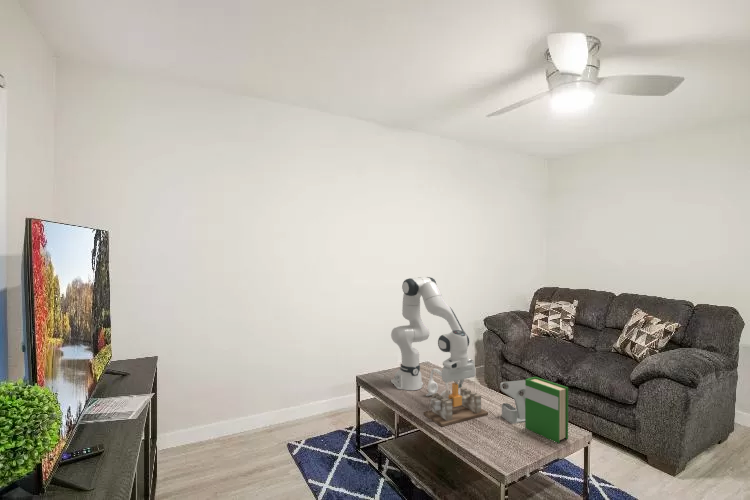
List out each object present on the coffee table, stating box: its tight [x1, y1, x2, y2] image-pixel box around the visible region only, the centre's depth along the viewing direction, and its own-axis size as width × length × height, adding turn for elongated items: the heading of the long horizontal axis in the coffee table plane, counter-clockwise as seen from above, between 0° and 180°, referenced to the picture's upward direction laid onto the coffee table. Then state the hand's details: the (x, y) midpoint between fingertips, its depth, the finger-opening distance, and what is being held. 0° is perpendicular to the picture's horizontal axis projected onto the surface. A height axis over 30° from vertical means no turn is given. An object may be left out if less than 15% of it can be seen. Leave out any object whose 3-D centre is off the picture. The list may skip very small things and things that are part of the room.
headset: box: [425, 368, 451, 399], centre depth 224 cm, size 20×7×18 cm, turn 20°
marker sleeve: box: [449, 382, 462, 407], centre depth 206 cm, size 5×5×11 cm
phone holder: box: [499, 379, 525, 424], centre depth 203 cm, size 17×10×18 cm, turn 104°
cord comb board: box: [423, 387, 489, 428], centre depth 206 cm, size 16×30×10 cm, turn 117°
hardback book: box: [524, 376, 569, 444], centre depth 185 cm, size 18×7×24 cm, turn 31°
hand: (458, 387), depth 207 cm, fingers closed
